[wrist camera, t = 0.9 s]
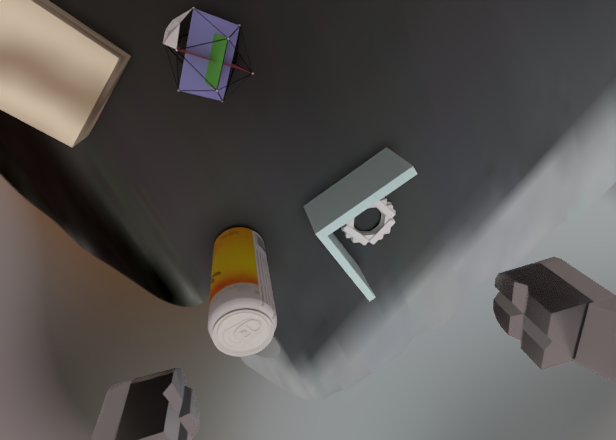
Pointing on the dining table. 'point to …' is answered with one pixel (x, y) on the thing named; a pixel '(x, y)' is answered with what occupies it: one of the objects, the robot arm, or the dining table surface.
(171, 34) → the geometric puzzle
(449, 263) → the dining table surface
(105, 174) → the dining table surface
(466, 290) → the dining table surface
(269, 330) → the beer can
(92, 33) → the oak base block
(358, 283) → the right angle wall
